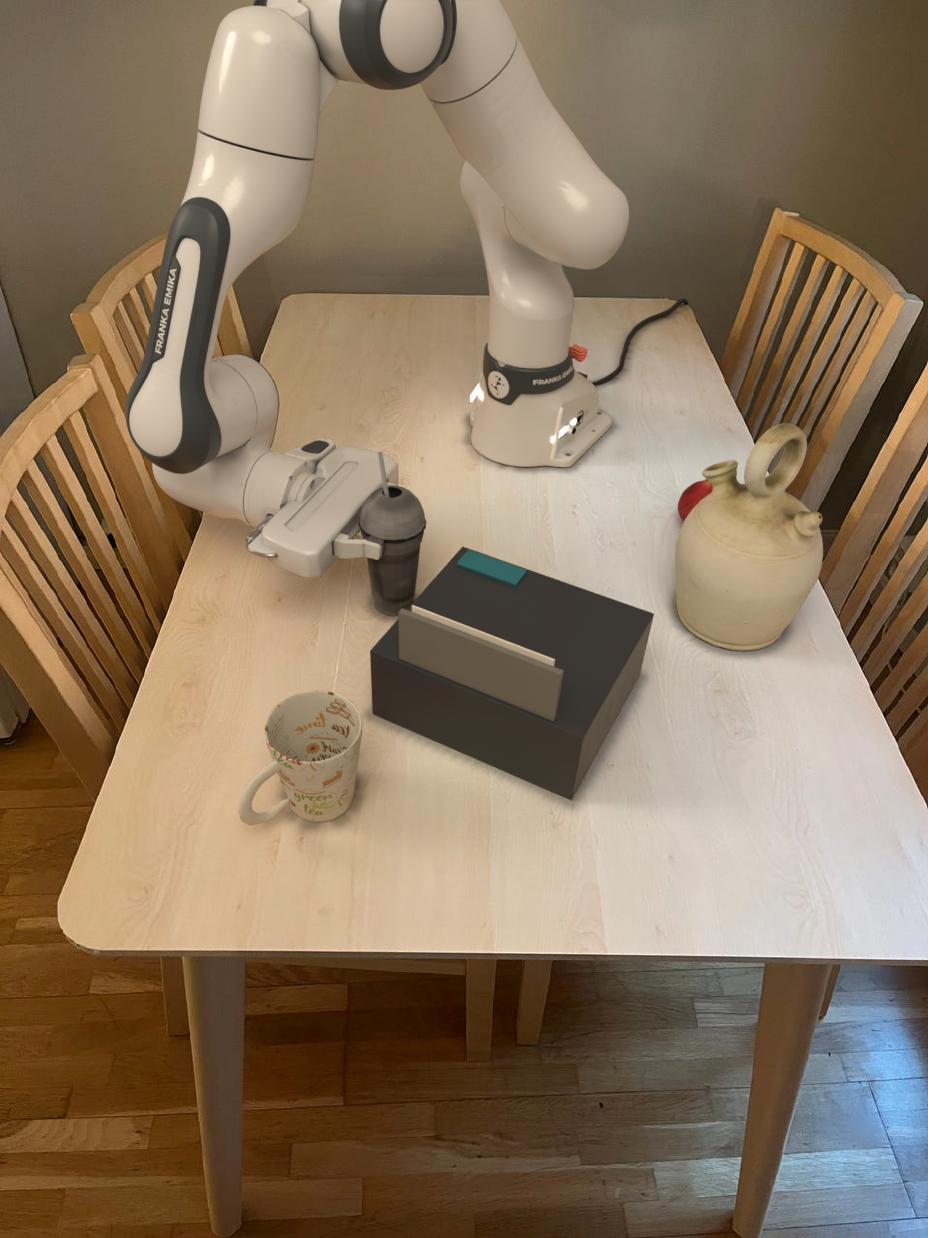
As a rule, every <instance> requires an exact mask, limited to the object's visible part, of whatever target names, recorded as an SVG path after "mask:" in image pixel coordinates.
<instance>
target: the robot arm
mask: <svg viewBox="0 0 928 1238" xmlns="http://www.w3.org/2000/svg"><path fill="white" fill-rule="evenodd" d="M339 81H344V82H351V83H356V84H360V85H368V86H370V87H372V88H374V89H378V90H381V91H382V90H384V91H397V90H406V89H408V88H412V87H414V86H417V85H418V84H419V85H420V87H421V89H422V90H423V92H424V94H425V96H426V98H427V99H428V101H429V103H430V104H431V106H432V108H433V110H434V111H435V113H436V115H437V117H438V118H439V120H440V122H441V124H442V125H443V127H444V129H445V131H446V133H447V134H448V136H449V137H450V139H451V141H452V143H453V145H454V147H455V148H456V150H457V151H458V153H459V154H460V156H461V157H462V158H463V159H464V162H463V163H464V164H463V166H462V170H461V173H460V182H459V183H460V184H459V186H460V193H461V197H462V199H463V201H464V203H465V205H466V207H467V209H468V211H469V212H470V214H471V217H472V219H473V222H474V225H475V227H476V228H475V229H476V230H477V234H478V239H479V242H480V246H481V251H482V252H481V253H482V256H483V260H484V266H485V271H486V276H487V284H488V298H489V299H488V301H489V303H488V325H487V326H488V327H487V329H488V330H487V343H485V345H484V349H483V355H482V360H481V361H482V372H481V373H480V376H479V382H478V384H477V385H476V387H475V388H474V390H472V392H471V394H470V395H469V402H470V403H473V402H474V400H475V399H476V400H475V408H474V410H472V411H471V412H470V413H469V419H468V421H469V424H470V426H471V427H472V429H471V433H470V443H471V445H472V447H473V449H475V450H476V452H477V453H478V454H480V455H481V456H483V457H484V458H486V459H488V460H490V461H493V462H495V463H498V464H501V465H506V466H511V467H519V468H520V467H522V468H532V467H544V466H545V467H546V466H547V467H556V468H570V467H571V466H573V465H574V464H575V463H576V462H577V461H578V460H579V459H580V458H581V457H582V456H583V455H584V454H585V453H586V452H587V451H588V450H589V449H590V448H592V446H593V445H594V444H595V443H596V442H598V440H600V438H601V437H602V436H603V435H604V434H605V433H606V432H607V431H608V430H610V428H611V427H612V424H613V423H612V422H613V420H612V417H611V416H610V415H609V414H608V413H607V412H606V411H604V410H603V409H602V408H600V407H599V392H598V389H597V386H600V385H603V384H605V383H607V382H609V381H611V380H612V379H614V378H615V377H616V376H618V375H619V374H620V373H621V372H622V370H623V369H624V367H625V362H626V358H627V355H628V351H629V346H630V343H631V340H632V339H633V337H634V335H636V333H637V332H638V331H639V330H640V329H641V328H642V327H644V326H645V325H647V324H648V323H650V322H653V321H656V320H658V319H661V318H663V317H665V316H668V315H670V314H671V313H673V312H674V311H675V310H676V309H678V307H680V306H681V305H682V304H683V305H685V306H688V305H689V301H688V299H686V298H680V299H679V300H677V301H676V302H675V303H674V304H672V305H671V306H670V308H668V309H666V310H664V311H661V312H659V313H656V314H654V315H651V316H649V317H647V318H645V319H642V320H641V321H640V322H638V323H637V324H636V325H635V326H634V327H633V328H631V330H630V332H629V333H628V335H627V336H626V338H625V340H624V344H623V348H622V352H621V354H620V358H619V364H618V365H617V368H616V369H615V370H613V371H612V372H610V373H609V374H608V375H606V376H604V377H602V378H601V379H598V380H596V381H590V380H589V379H588V376H589V375H588V374H585V373H582V372H581V371H577V370H575V367H574V361H573V359H574V360H575V361H577V362H579V363H583V362H585V360H586V358H587V356H588V349H587V347H584V346H580V345H579V344H577V343H573V344H572V345H571V346H570V343H571V338H572V337H571V335H572V328H573V321H574V320H573V318H574V309H575V296H574V291H573V288H572V284H570V282H569V280H568V278H567V276H566V274H565V272H564V270H563V267H562V266H564V267H569V268H574V269H579V270H587V271H588V270H595V269H597V268H599V267H601V266H603V265H605V264H606V263H607V262H608V261H610V260H611V258H613V257H614V256H615V255H616V254H617V252H618V251H619V249H620V248H621V246H622V244H623V242H624V241H625V239H626V236H627V232H628V229H629V223H630V206H629V202H628V198H627V197H626V195H625V193H624V192H623V191H622V190H621V188H619V187H618V186H617V185H616V184H615V183H614V182H613V181H612V179H610V178H609V177H608V176H607V175H606V174H605V173H604V172H603V170H602V169H600V167H599V166H598V164H597V163H596V162H595V161H594V160H593V159H592V157H591V156H590V155H589V153H588V152H587V150H586V149H585V147H584V146H583V144H582V143H581V141H580V140H579V139H578V137H577V136H576V135H575V133H574V132H573V130H572V129H571V128H570V126H569V125H568V124H567V123H566V121H565V120H564V119H563V117H562V116H561V115H560V113H559V112H558V110H557V109H556V108H555V106H554V105H553V103H552V102H551V100H550V98H549V97H548V96H547V94H546V92H545V90H544V88H543V86H542V84H541V82H540V81H539V78H538V76H537V74H536V72H535V70H534V68H533V66H532V63H531V61H530V59H529V57H528V55H527V52H526V51H525V48H524V46H523V44H522V41H521V40H520V38H519V36H518V34H517V32H516V29H515V27H514V24H513V23H512V20H511V19H510V16H509V14H508V13H507V11H506V9H505V7H504V6H503V3H502V2H501V0H254V1H253V3H252V5H248V6H243V7H240V8H237V9H236V8H235V9H234V10H232V11H230V12H229V13H228V14H226V15H225V16H224V18H223V19H222V20H221V22H220V23H219V25H218V28H217V30H216V33H215V37H214V41H213V44H212V46H211V51H210V55H209V58H208V63H207V67H206V72H205V77H204V83H203V88H202V93H201V100H200V105H199V106H200V107H199V116H198V124H197V132H196V133H197V134H196V142H195V143H196V144H195V148H194V156H193V162H192V167H191V171H190V174H189V178H188V179H189V180H188V182H187V187H186V189H185V193H184V196H183V198H182V201H181V203H180V206H179V208H178V210H177V211H176V214H175V215H174V218H173V220H172V222H171V225H170V227H169V230H168V234H167V236H166V237H167V238H166V240H165V245H164V250H163V253H162V254H163V255H162V259H161V263H160V269H159V274H158V279H157V285H156V292H155V296H154V301H153V305H152V311H151V317H150V323H149V328H148V333H147V338H146V344H145V349H144V354H143V357H142V362H141V364H140V367H139V370H138V372H137V374H136V376H135V378H134V380H133V381H132V383H131V385H130V388H129V389H128V393H127V396H126V401H125V407H124V408H125V410H124V415H125V417H124V418H125V424H126V428H127V431H128V434H129V436H130V439H131V441H132V443H133V444H134V446H135V447H136V449H137V450H138V451H139V452H140V454H141V455H142V456H143V457H144V458H146V460H148V461H149V462H150V463H151V467H152V468H151V469H152V473H153V477H154V480H155V482H156V484H157V485H158V487H159V488H160V489H161V490H162V492H164V493H165V494H166V495H167V496H169V497H170V498H171V499H172V500H174V501H176V502H178V503H179V504H182V505H185V506H186V507H188V508H191V509H194V510H197V511H199V512H203V513H205V514H208V515H211V516H215V517H218V518H222V519H237V520H239V521H242V523H244V524H246V525H247V526H250V527H251V528H254V529H253V530H251V531H250V532H249V533H248V534H247V535H246V537H245V548H246V550H247V551H248V553H249V554H251V555H252V556H255V557H258V558H262V559H266V560H267V561H268V562H269V563H270V564H272V565H273V566H276V567H278V568H279V569H282V570H284V571H287V572H289V573H292V574H294V575H295V576H299V577H301V578H305V579H315V578H319V577H321V576H322V575H324V573H325V572H326V571H327V570H328V569H329V568H330V567H331V565H332V564H333V562H335V560H337V558H341V559H344V560H350V559H358V558H359V559H361V558H364V557H365V558H367V557H368V558H371V559H375V560H378V559H379V558H380V557H381V556H382V554H383V553H384V552H385V541H384V540H383V539H380V538H376V537H373V536H369V537H368V539H367V540H366V539H363V538H361V539H359V538H358V539H357V538H356V537H357V535H358V534H359V532H361V530H360V527H359V520H360V515H361V511H362V506H363V504H364V502H365V501H366V499H367V498H368V497H369V495H370V494H371V493H372V492H374V491H376V490H377V489H379V488H381V487H383V483H382V477H381V471H380V464H379V458H378V452H379V451H375V450H372V449H368V448H363V447H360V446H355V445H340V446H338V447H337V444H336V441H335V440H334V439H332V438H330V437H319V438H316V439H314V440H312V441H311V442H308V443H306V444H304V445H301V446H299V447H295V448H292V449H288V450H285V451H284V452H283V453H281V452H278V451H274V450H273V449H271V448H272V446H273V443H274V440H275V436H276V433H277V432H276V431H277V426H278V419H279V413H280V397H279V396H280V395H279V390H278V387H277V384H276V382H275V381H274V378H273V377H272V375H271V374H270V373H269V371H268V370H267V368H266V367H264V366H263V364H261V363H260V362H259V361H258V360H256V359H255V358H253V357H251V356H249V355H245V354H242V353H230V354H226V355H223V356H218V357H214V353H215V347H216V341H217V338H218V333H219V327H220V322H221V318H222V313H223V310H224V309H223V308H224V305H225V302H226V298H227V296H228V294H229V292H230V290H231V288H232V286H233V285H234V283H235V281H236V280H237V279H238V278H239V276H240V275H241V274H242V273H243V272H244V270H246V269H247V268H248V267H249V266H250V265H251V264H252V263H253V262H255V261H256V260H257V259H258V258H259V257H261V255H263V254H264V253H265V252H267V251H268V250H270V249H272V248H273V247H274V246H276V245H279V243H281V242H282V241H283V240H285V239H286V238H288V237H289V235H291V234H292V233H293V231H294V230H295V229H296V228H297V227H298V225H299V223H300V221H301V219H302V216H303V214H304V211H305V209H306V205H307V202H308V199H309V195H310V193H311V188H312V182H313V176H314V168H315V162H316V159H315V158H316V155H317V146H318V139H319V127H320V118H321V115H322V112H323V109H324V106H325V103H326V101H327V99H328V98H329V95H330V94H331V92H332V91H333V89H334V88H335V87H336V85H338V83H339ZM213 357H214V358H213ZM383 459H384V466H385V472H386V479H387V485H388V486H390V485H393V486H399V483H400V473H399V472H400V471H399V463H398V462H397V461H396V459H394V458H393V457H392V456H390V455H388V454H385V453H383Z"/></svg>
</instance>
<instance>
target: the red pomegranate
mask: <svg viewBox="0 0 928 1238" xmlns="http://www.w3.org/2000/svg"><path fill="white" fill-rule="evenodd" d="M712 490H713V486H712V485H711V484H710V483H709V481H708V480H707V479H706V478H705V479H703V480H698V481H695V482H694V483H691V484H690V485H689V486H687V487H686V488H685V489H684V490H683V492H682V493H681V495H680V497H679V499H678V503H677V512H678V515H679V517H680V519H681V521H682V523H684V521H685V519H686V517H687V516H688V515H689V513H690V512H691V511H692V509H693V508H694V507H695V506H696V505H697V504H698V503H699V502H700V501H701V500H702V499H703V498H705V497H706V496H707V495H709V494H710V493H711V492H712Z"/></svg>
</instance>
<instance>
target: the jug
mask: <svg viewBox="0 0 928 1238" xmlns="http://www.w3.org/2000/svg"><path fill="white" fill-rule="evenodd" d="M783 446H784V447H783ZM782 447H783V450H782V453H781V456H780V458H779V460H778V462H777V464H776V465H775V467H774V468H773V470H772V471H771V472H770V473H769V474H768V475H767V473H768V470H769V467H770V465H771V463H772V461H773V460H774V458H775V457H776V455H777V454H778V452H779V451H780V449H782ZM807 449H808V441H807V437H806V433H804V431H803V430H802V428H800V427H798V426H797V425H796V424H792V423H789V422H782V423H778V424H776V425H773V426H771V427H770V428H769V429H767V430H766V431H765V432H764V433H763V434H762V435H761V436H760V437H759V438H758V440H757V441H756V442H755V444H754V445H753V447H752V449H751V450H750V453H749V454H748V457H747V460H746V463H745V467H744V473H743V480H744V483H740V482H739V481H738V479H737V478H738V477H737V476H738V465H739V462H738V461H737V460H735V459H729V460H725V461H721V462H718V463H714V464H712V465H709V466H707V467H706V468H704V469H703V471H701V474H702V477H704V478H705V479H707V480H708V481H709V483H710V484H711V485H712V486H713V490H712V492H711V493H710V494H709V495H707V496H706V497H705V498H703V499H702V500H701V501H700V502H699V503H698V504H697V505H696V506H695V507H694V508H693V509H692V511H691V512H690V513H689V515H688V516H687V517H686V519H685V521H684V522H682V525H681V527H680V530H679V533H678V536H677V540H676V545H675V546H676V547H675V556H674V582H675V584H674V585H675V601H676V611H677V615H678V616H679V619H680V621H681V623H682V624H683V625H684V627H685V628H686V629H687V630H688V631H689V632H690V633H691V634H692V635H694V636H695V637H697V638H699V639H700V640H703V641H704V642H706V643H708V644H710V645H712V646H715V647H719V648H722V649H727V650H730V651H731V650H732V651H740V652H741V651H742V652H743V651H745V652H746V651H757V650H760V649H763V648H767V647H769V646H771V645H772V644H773V643H775V642H776V641H777V639H778V640H779V638H780V637H781V635H782V634H783V632H784V631H785V629H786V628H787V627H788V626H789V625H790V624H791V622H792V621H793V620H794V618H795V617H796V615H797V613H798V612H799V611H800V609H801V607H802V606H803V604H804V603H805V601H806V600H807V598H808V597H809V595H810V594H811V592H812V590H813V589H814V587H815V585H816V583H817V581H818V580H819V577H820V573H821V570H822V566H823V559H824V542H823V537H822V532H821V528H820V525H821V524H822V522H823V515H822V514H821V513H820V511H811V510H810V509H809V508H808V507H807V506H806V505H804V504H803V503H802V502H801V500H799V498H798V499H797V498H796V497H795V496H794V495H792V494H790V493H789V492H787V491H786V489H787V488H788V487H789V486H790V485H791V484H792V483H793V481H794V480H795V479H796V478H797V475H798V474H799V472H800V470H801V468H802V466H803V464H804V461H805V458H806V454H807Z"/></svg>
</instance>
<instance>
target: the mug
mask: <svg viewBox="0 0 928 1238" xmlns="http://www.w3.org/2000/svg"><path fill="white" fill-rule="evenodd" d="M362 736H363V719H362V716H361V713H360V711H359V709H358V707H357V706H356V705H355V704H354V703H353V701H351V700H350V699H348V698H347V697H346V696H344V695H341V694H339V693H336V692H333V691H328V690H320V689H319V690H307V691H302V692H298V693H294V694H293V695H289V696H288V697H287V698H284V699H283V700H281V701H280V702H279V703H277V705H275V707H273V709H272V710H271V711H270V712H269V714H268V716H267V718H266V721H265V724H264V737H265V742H266V746H267V748H268V750H269V751H268V752H269V754H270V756H271V759H272V762H270V763H269V764H267V765H266V766H265V767H264V768H262V769H260V770H259V771H257V773H256V774H254V775H253V776H252V778H251V779H250V780H249V782H248V783H247V784H246V786H245V788H244V790H243V792H242V794H241V796H240V800H239V803H238V816H239V819H240V820H241V822H242V823H244V824H245V825H248V826H256V825H260V824H266V823H268V822H270V821H271V820H273V819H274V818H275V817H277V816H278V815H279V814H280V813H282V811H284V809H286V808H287V806H289V807H290V809H291V810H292V812H293V813H294V814H295V815H296V816H298V817H299V818H300V819H302V820H305V821H307V822H311V823H325V822H329V821H333V820H335V819H337V818H339V817H340V816H342V815H343V814H344V813H345V812H346V811H348V810H349V808H350V806H351V805H352V802H353V799H354V795H355V788H356V782H357V774H358V773H357V772H358V767H359V759H360V752H361V751H360V750H361V743H362ZM275 774H277V776H278V778H279V781H280V783H281V786H282V789H283V792H284V795H285V797H286V798H284V799H282V800H281V801H279V802H278V803H276V804H275V805H274V806H272V807H271V808H269V809H268V810H266V811H264V812H261V813H260V812H259V813H258V812H255V811H254V810H253V807H252V806H253V800H254V798H255V796H256V794H257V792H258V791H259V789H260V788H261V786H262V785H263V784H264V783H266V781H268V780H269V779H270V778H272V777H273V776H274V775H275Z"/></svg>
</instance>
